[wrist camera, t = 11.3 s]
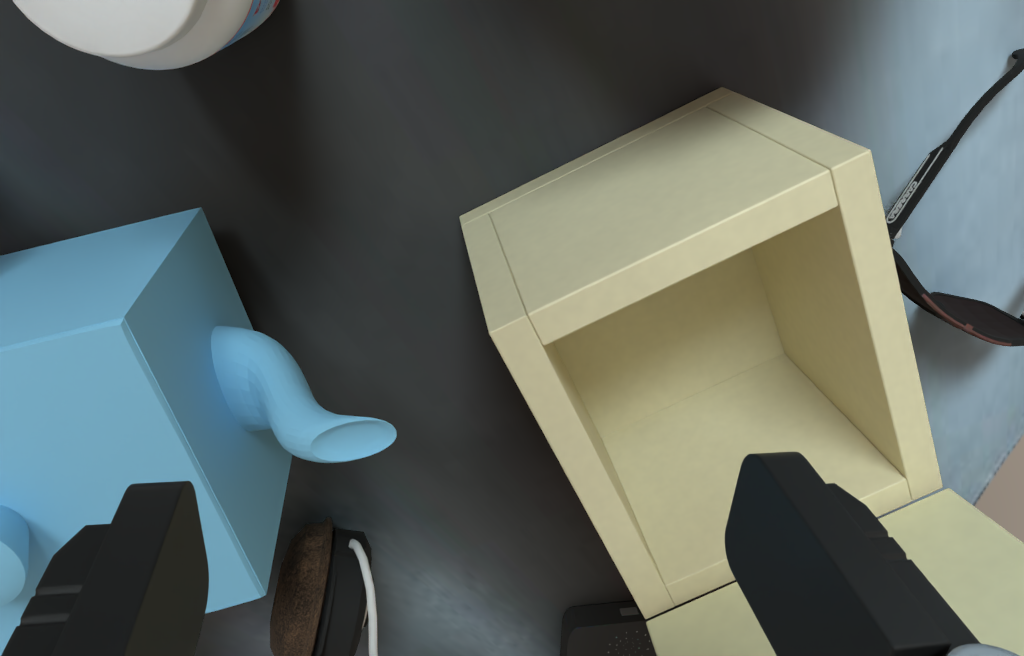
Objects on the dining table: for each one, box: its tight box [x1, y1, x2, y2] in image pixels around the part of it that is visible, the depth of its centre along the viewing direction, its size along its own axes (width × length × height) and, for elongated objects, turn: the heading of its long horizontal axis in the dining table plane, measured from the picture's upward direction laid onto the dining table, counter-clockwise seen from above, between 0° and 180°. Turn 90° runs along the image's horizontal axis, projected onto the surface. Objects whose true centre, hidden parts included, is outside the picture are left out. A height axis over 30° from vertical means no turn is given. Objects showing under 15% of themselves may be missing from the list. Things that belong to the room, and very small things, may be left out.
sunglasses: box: [885, 49, 1024, 346], centre depth 35 cm, size 10×12×5 cm
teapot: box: [0, 207, 397, 656], centre depth 28 cm, size 22×11×14 cm, turn 102°
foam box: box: [459, 87, 943, 619], centre depth 31 cm, size 15×13×11 cm
